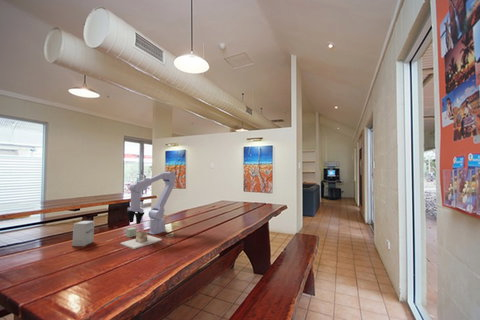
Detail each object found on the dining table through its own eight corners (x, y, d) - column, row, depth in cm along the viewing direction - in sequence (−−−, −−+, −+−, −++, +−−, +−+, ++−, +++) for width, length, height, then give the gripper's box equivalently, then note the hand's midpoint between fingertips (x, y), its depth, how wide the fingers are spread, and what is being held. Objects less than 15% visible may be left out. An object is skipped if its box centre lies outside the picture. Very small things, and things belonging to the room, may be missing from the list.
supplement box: (84, 246, 118) (85, 223, 119) (71, 246, 118) (72, 223, 119) (93, 242, 126) (94, 220, 126) (81, 241, 126) (82, 220, 126)
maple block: (142, 239, 129) (143, 230, 129) (147, 240, 126) (147, 232, 127) (135, 241, 125) (136, 232, 125) (140, 242, 123) (140, 233, 123)
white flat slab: (148, 236, 137) (148, 235, 137) (161, 240, 130) (162, 239, 130) (120, 244, 122) (120, 242, 122) (133, 249, 114) (133, 247, 115)
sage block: (132, 234, 141) (132, 227, 141) (136, 235, 138) (136, 228, 139) (125, 236, 137) (126, 228, 137) (129, 237, 134) (129, 229, 135)
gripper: (123, 201, 136) (122, 222, 135) (136, 203, 128) (135, 226, 127) (133, 200, 142) (132, 220, 141) (146, 202, 134) (146, 223, 133)
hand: (134, 223), depth 134 cm, fingers open, 7 cm apart
